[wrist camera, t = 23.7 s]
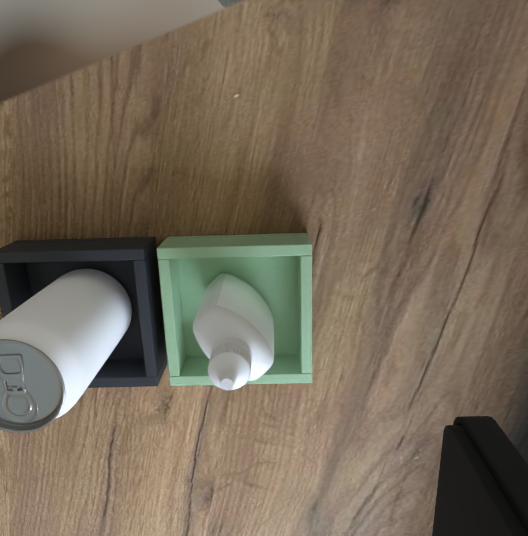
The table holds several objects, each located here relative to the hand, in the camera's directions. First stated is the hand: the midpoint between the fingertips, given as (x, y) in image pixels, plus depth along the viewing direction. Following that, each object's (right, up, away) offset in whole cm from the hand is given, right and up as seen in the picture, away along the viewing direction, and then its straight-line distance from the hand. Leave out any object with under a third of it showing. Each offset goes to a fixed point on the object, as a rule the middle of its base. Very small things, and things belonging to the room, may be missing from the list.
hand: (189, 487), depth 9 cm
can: (-12, +1, +28) cm, 31 cm away
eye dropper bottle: (-1, +1, +28) cm, 28 cm away
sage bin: (-1, +1, +28) cm, 29 cm away
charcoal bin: (-12, +1, +29) cm, 31 cm away
